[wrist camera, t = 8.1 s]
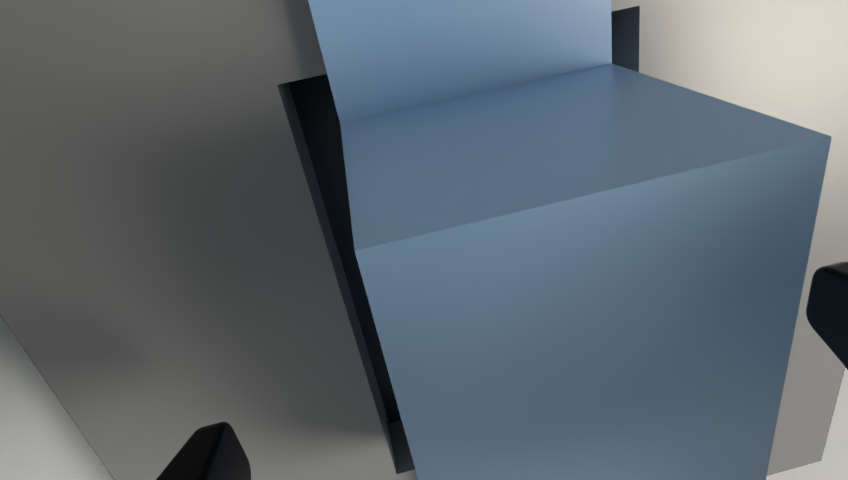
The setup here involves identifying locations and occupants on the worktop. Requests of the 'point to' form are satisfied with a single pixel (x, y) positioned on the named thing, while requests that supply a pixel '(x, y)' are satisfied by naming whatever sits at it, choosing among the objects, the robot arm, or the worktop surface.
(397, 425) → the chassis
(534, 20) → the servo
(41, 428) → the worktop surface
